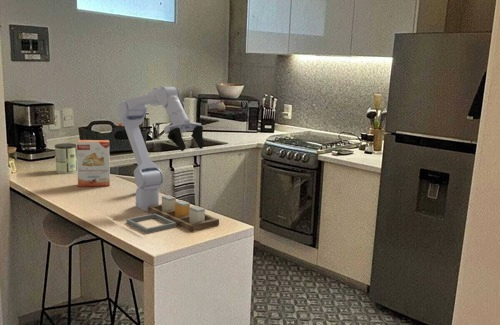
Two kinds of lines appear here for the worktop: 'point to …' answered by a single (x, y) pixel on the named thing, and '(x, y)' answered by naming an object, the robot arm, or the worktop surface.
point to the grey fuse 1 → (168, 203)
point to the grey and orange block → (181, 208)
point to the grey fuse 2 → (196, 214)
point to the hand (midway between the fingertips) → (193, 148)
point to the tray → (148, 230)
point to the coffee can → (66, 158)
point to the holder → (184, 219)
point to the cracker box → (93, 163)
